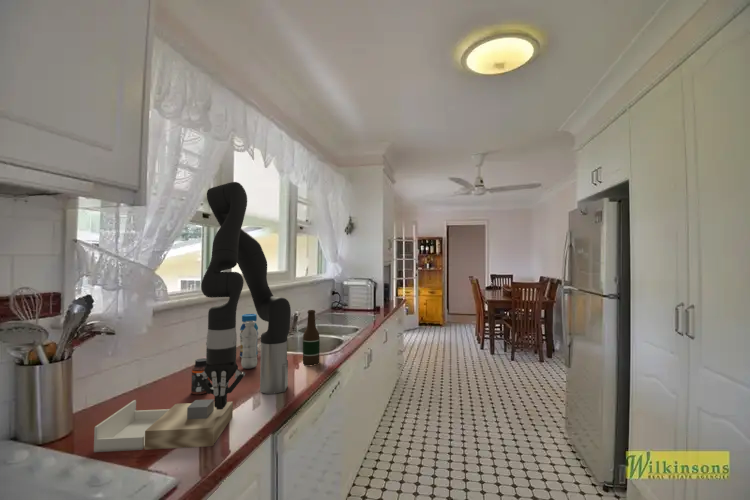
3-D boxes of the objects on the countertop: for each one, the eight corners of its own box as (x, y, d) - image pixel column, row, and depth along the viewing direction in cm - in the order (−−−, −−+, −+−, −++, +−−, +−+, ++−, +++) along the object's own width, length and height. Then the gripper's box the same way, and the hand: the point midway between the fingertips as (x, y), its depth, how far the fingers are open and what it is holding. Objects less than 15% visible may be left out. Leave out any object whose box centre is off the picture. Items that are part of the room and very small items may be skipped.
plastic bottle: (260, 367, 148) (261, 321, 149) (247, 371, 143) (248, 323, 143) (250, 364, 152) (251, 319, 152) (237, 368, 146) (238, 321, 147)
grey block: (213, 410, 96) (213, 399, 96) (206, 418, 91) (207, 406, 91) (194, 410, 95) (195, 400, 95) (187, 419, 90) (187, 407, 90)
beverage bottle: (259, 356, 164) (260, 315, 165) (241, 359, 160) (242, 316, 160) (255, 352, 171) (256, 312, 172) (237, 355, 167) (238, 314, 167)
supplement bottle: (202, 396, 117) (202, 362, 117) (187, 394, 118) (187, 361, 118) (213, 389, 123) (214, 357, 123) (199, 388, 124) (199, 356, 124)
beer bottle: (305, 360, 158) (306, 308, 159) (321, 361, 157) (322, 309, 158) (299, 365, 151) (300, 311, 151) (316, 366, 150) (317, 311, 150)
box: (173, 419, 99) (174, 398, 100) (142, 449, 84) (143, 424, 84) (133, 421, 98) (133, 400, 98) (93, 452, 82) (94, 426, 83)
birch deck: (232, 416, 101) (232, 401, 101) (212, 446, 85) (213, 427, 85) (175, 419, 100) (175, 403, 100) (144, 449, 84) (145, 430, 84)
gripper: (250, 340, 98) (249, 401, 98) (201, 341, 97) (200, 403, 96) (243, 347, 91) (241, 413, 90) (190, 348, 89) (189, 415, 89)
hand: (220, 408), depth 93 cm, fingers closed
